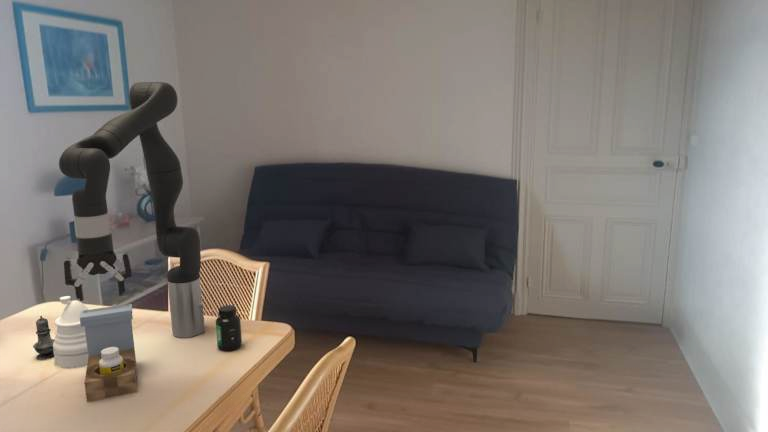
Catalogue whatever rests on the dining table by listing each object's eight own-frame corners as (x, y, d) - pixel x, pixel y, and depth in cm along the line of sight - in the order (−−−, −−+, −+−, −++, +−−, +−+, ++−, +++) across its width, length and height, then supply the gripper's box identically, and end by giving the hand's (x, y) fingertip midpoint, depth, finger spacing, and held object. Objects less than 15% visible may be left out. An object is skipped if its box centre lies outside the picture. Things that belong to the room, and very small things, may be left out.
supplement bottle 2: (218, 353, 159) (215, 314, 156) (217, 343, 165) (214, 305, 163) (243, 350, 161) (240, 310, 159) (241, 340, 168) (238, 302, 165)
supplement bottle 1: (114, 393, 139) (109, 356, 137) (97, 389, 140) (92, 353, 138) (130, 382, 144) (126, 347, 142) (113, 379, 145) (109, 344, 143)
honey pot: (54, 372, 149) (44, 308, 145) (56, 352, 160) (47, 293, 157) (107, 361, 155) (99, 299, 151) (106, 343, 166) (98, 285, 162)
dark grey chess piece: (47, 361, 155) (41, 320, 153) (29, 359, 156) (23, 319, 154) (63, 351, 161) (58, 312, 158) (45, 350, 162) (40, 310, 159)
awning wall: (138, 361, 155) (131, 303, 151) (138, 370, 150) (131, 310, 146) (89, 370, 150) (81, 310, 146) (87, 379, 145) (79, 317, 142)
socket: (136, 365, 153) (134, 348, 151) (136, 391, 139) (134, 373, 138) (90, 373, 148) (88, 356, 147) (86, 401, 135) (84, 382, 134)
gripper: (57, 239, 127) (67, 307, 131) (126, 233, 132) (133, 297, 136) (61, 232, 134) (70, 296, 137) (126, 226, 139) (133, 288, 143)
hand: (101, 297), depth 137 cm, fingers open, 8 cm apart
